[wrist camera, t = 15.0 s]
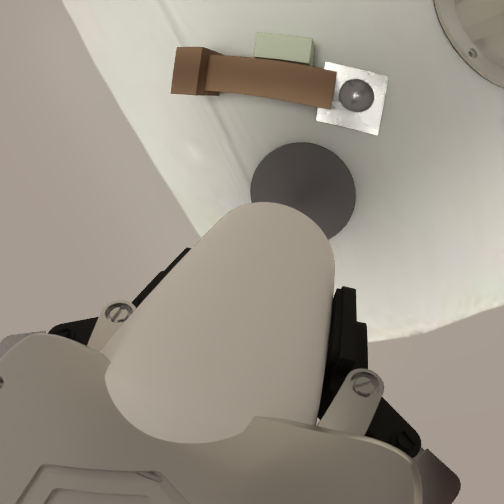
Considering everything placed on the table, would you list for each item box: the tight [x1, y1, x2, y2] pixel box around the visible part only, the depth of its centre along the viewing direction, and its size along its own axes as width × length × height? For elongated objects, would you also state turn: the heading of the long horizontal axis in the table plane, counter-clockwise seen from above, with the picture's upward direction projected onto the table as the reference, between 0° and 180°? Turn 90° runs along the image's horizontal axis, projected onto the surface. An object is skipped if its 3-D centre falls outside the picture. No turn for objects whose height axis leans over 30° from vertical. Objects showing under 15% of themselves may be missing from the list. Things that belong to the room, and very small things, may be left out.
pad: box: [250, 143, 355, 239], centre depth 25 cm, size 9×9×1 cm
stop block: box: [253, 32, 315, 66], centre depth 19 cm, size 4×2×3 cm, turn 83°
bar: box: [171, 47, 337, 110], centre depth 19 cm, size 4×11×4 cm, turn 81°
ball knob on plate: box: [316, 62, 388, 136], centre depth 18 cm, size 5×5×6 cm
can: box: [100, 202, 335, 482], centre depth 10 cm, size 6×6×12 cm
